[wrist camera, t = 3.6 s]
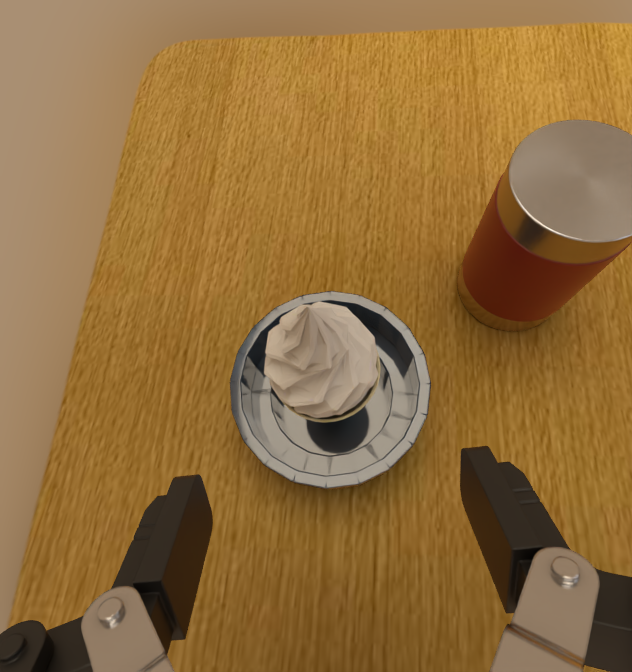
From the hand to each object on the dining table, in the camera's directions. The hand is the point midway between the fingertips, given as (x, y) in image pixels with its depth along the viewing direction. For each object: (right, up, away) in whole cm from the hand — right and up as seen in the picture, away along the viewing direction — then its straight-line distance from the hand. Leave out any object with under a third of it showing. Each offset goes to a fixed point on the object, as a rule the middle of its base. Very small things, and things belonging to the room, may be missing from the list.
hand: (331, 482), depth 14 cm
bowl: (+1, 0, +15) cm, 15 cm away
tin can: (+12, +8, +16) cm, 22 cm away
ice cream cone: (+1, 0, +15) cm, 15 cm away
